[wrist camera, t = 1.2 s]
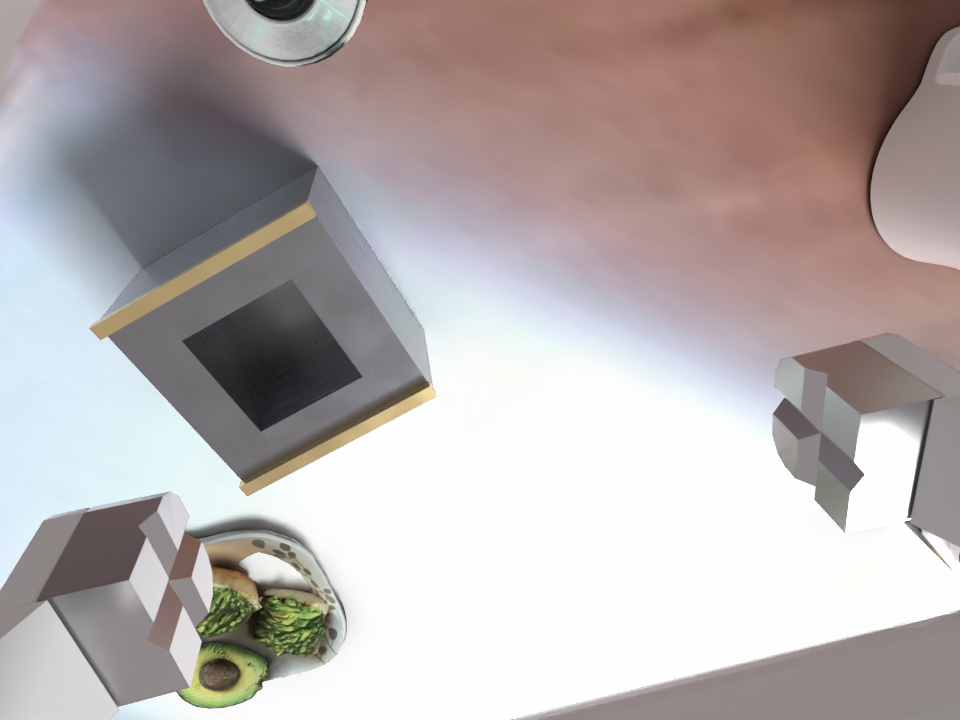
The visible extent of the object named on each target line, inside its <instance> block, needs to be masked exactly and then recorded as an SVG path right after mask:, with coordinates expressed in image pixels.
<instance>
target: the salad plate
mask: <svg viewBox="0 0 960 720" xmlns="http://www.w3.org/2000/svg"><path fill="white" fill-rule="evenodd" d="M198 540H200V541H202V544H203V546H204V548H205V550H206V552H207V555H208V557H209V561H210V565H211V569H212V577H213V597H212V601H211V606H210V610H209V613H208V614H207V616H206V617H205V618H204V619H203V620H202V621H201V622H200V623H199V624H198V625H197V626H196V627H195V630H196V631H197V633H198V635H199V637H200V639H201V641H202V643H201V647H200V650H199V654H198V658H197V662H196V666H195V670H194V674H193V678H192V682H191V686H190V688H187V689H183V690H179V691H176V692H177V693H178V695H179V696H180V697H181V698H182V699H183V700H184V701H186V702H188V703H190V704H192V705H194V706H196V707H203V708H225V707H228V706H233V705H236V704H240V703H242V702H244V701H247V700H249V699H251V698H252V697H253V696H254V695H255V694H256V692H257V691H259V690H261V689H262V687H263V686H262V682H264V681H268V680H272V679H275V678H279V677H285V676H289V675H292V674H297V673H301V672H305V671H308V670H312V669H314V668H317V667H319V666H322V665H324V664H326V663H327V662H329V661H330V660H331V659H332V658H333V657H334V656H335V655H336V654H337V653H338V651H339V649H340V648H341V646H342V644H343V642H344V640H345V637H346V632H347V624H346V615H345V611H344V607H343V604H342V602H341V601H340V599H339V598H338V597H337V596H336V595H335V593H334V591H333V589H332V587H331V585H330V583H329V580H328V579H327V576H326V574H325V572H324V571H323V569H322V568H321V566H320V565H319V564H318V562H317V561H316V559H315V557H314V555H313V554H312V552H311V551H310V550H309V549H307V548H306V547H305V546H303V545H302V544H300V543H299V542H297V541H296V540H294V539H292V538H290V537H287V536H285V535H282V534H279V533H275V532H272V531H268V530H234V531H228V532H224V533H220V534H216V535H213V536H209V537H205V538H200V539H198ZM257 552H261V553H265V554H269V555H272V556H275V557H277V558H279V559H280V560H283V561H285V562H287V563H289V564H290V565H291V566H293V567H294V568H295V569H296V570H297V571H298V572H300V573H301V575H302V576H303V577H304V579H305V580H306V582H307V583H308V585H309V586H310V588H311V591H310V592H304V591H302V590H297V589H296V590H292V589H275V588H269V587H262V586H261V585H260V584H258V583H256V582H255V581H253V580H251V579H250V578H249V577H248V573H249V572H248V571H246V570H245V569H243V568H241V567H239V564H238V563H239V562H240V561H241V560H243V559H245V558H246V557H248V556H250V555H252V554H254V553H257Z"/></svg>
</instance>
